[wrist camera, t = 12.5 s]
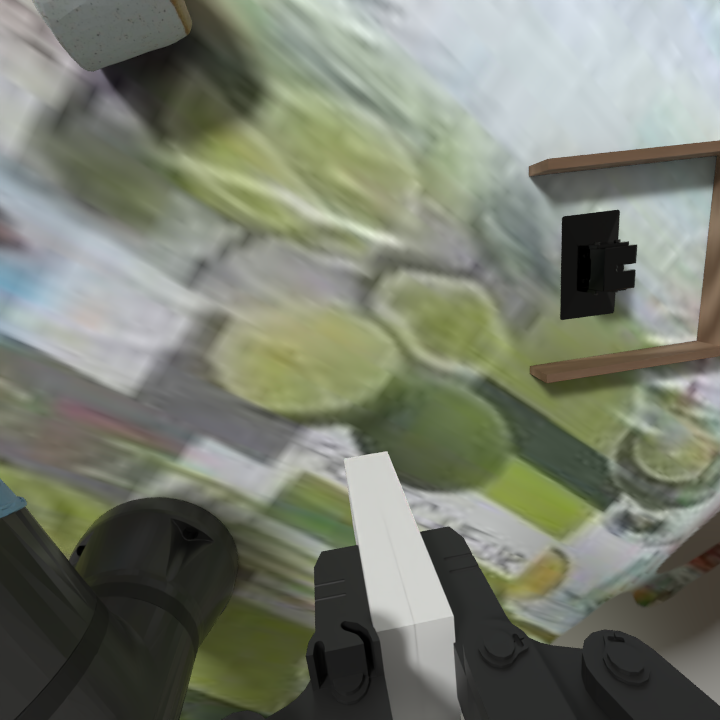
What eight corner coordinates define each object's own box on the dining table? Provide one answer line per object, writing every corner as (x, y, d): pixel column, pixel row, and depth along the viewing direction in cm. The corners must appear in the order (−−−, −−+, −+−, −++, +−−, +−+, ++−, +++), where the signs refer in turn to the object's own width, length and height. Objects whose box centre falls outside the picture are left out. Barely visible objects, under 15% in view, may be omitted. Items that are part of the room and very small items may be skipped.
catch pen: (703, 347, 42) (731, 354, 39) (529, 373, 40) (546, 383, 38) (725, 145, 37) (761, 136, 34) (528, 166, 35) (548, 158, 33)
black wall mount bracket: (615, 325, 41) (652, 334, 37) (546, 334, 40) (575, 345, 36) (623, 193, 38) (666, 186, 33) (548, 201, 37) (581, 195, 33)
